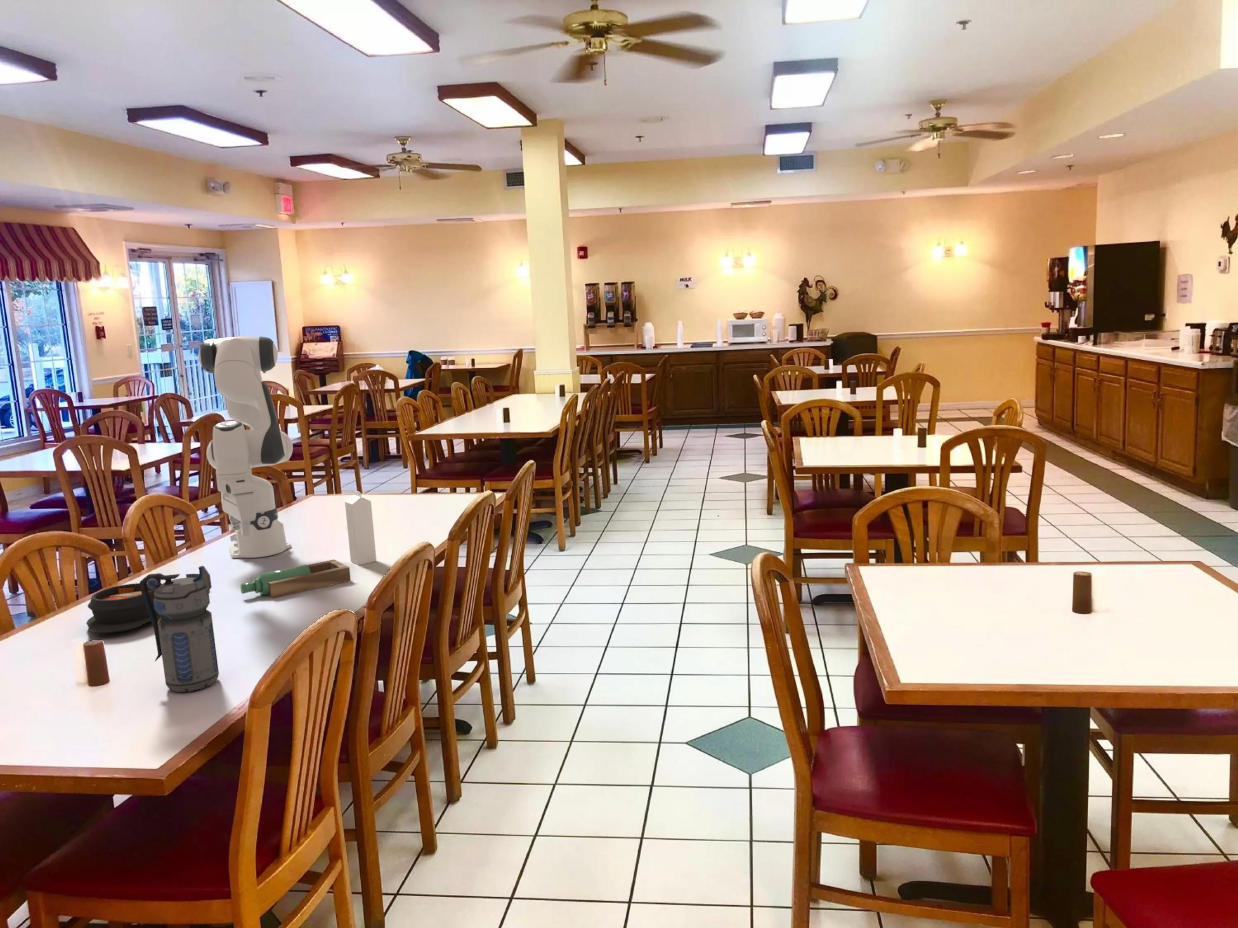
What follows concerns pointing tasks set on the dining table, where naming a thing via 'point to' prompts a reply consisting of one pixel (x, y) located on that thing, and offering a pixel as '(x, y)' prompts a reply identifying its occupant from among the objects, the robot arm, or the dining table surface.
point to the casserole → (119, 609)
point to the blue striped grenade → (183, 628)
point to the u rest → (312, 579)
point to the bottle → (272, 579)
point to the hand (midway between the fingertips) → (240, 532)
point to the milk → (360, 529)
